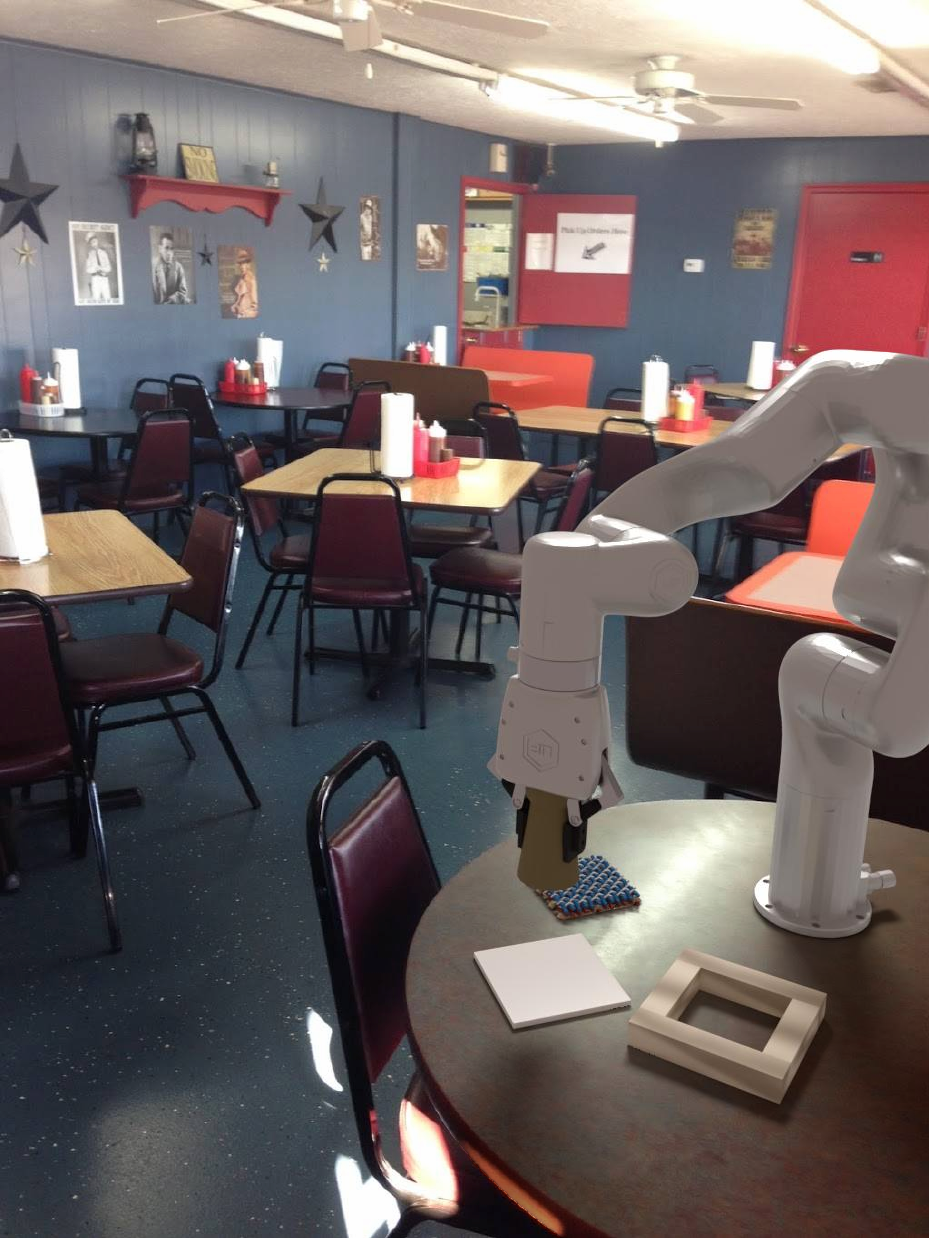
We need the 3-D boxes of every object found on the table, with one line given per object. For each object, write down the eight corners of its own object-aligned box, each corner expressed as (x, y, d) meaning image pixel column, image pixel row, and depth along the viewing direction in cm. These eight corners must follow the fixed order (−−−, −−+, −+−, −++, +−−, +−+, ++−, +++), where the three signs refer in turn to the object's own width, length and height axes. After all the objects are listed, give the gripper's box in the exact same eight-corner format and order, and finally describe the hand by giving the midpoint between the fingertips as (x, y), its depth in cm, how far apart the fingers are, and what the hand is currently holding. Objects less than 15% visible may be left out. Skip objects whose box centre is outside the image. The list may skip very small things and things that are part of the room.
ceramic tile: (581, 938, 115) (581, 933, 115) (630, 1005, 104) (631, 1000, 104) (473, 957, 112) (473, 952, 112) (513, 1028, 101) (513, 1023, 101)
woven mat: (601, 864, 131) (601, 849, 131) (644, 909, 122) (645, 893, 121) (522, 879, 128) (522, 864, 127) (560, 926, 118) (560, 910, 118)
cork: (576, 894, 101) (582, 786, 98) (512, 886, 102) (516, 779, 99) (582, 863, 107) (588, 760, 104) (521, 856, 108) (526, 753, 105)
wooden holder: (684, 968, 110) (686, 947, 109) (824, 1016, 103) (826, 993, 102) (627, 1044, 99) (628, 1021, 98) (779, 1104, 92) (782, 1079, 91)
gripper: (459, 661, 100) (455, 841, 105) (626, 699, 91) (613, 892, 96) (501, 642, 106) (495, 813, 111) (661, 675, 97) (647, 859, 102)
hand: (550, 848), depth 104 cm, fingers closed on cork, 4 cm apart
